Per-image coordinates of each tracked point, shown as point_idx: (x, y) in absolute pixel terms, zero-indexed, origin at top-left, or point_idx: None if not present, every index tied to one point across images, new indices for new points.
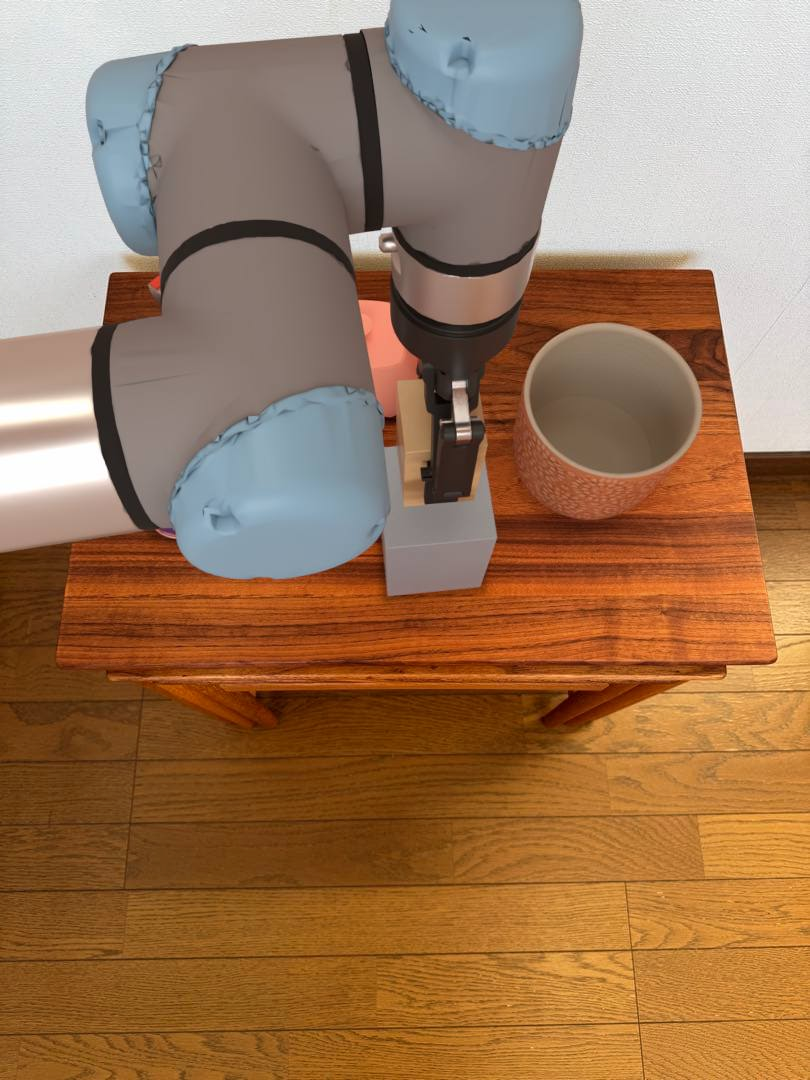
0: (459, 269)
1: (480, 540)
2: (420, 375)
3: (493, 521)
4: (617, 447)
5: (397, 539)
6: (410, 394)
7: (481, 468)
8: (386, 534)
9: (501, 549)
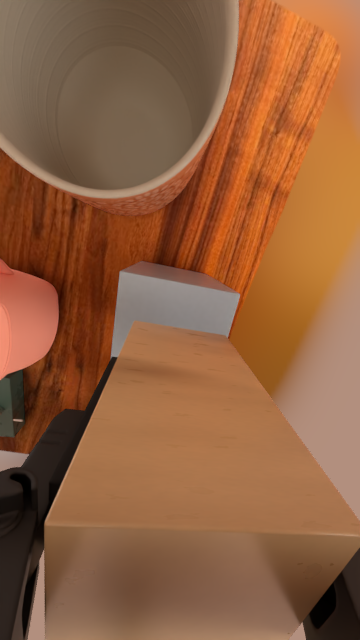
0: None
1: (235, 310)
2: (29, 622)
3: (222, 291)
4: (120, 95)
5: None
6: None
7: (273, 402)
8: None
9: (184, 248)
